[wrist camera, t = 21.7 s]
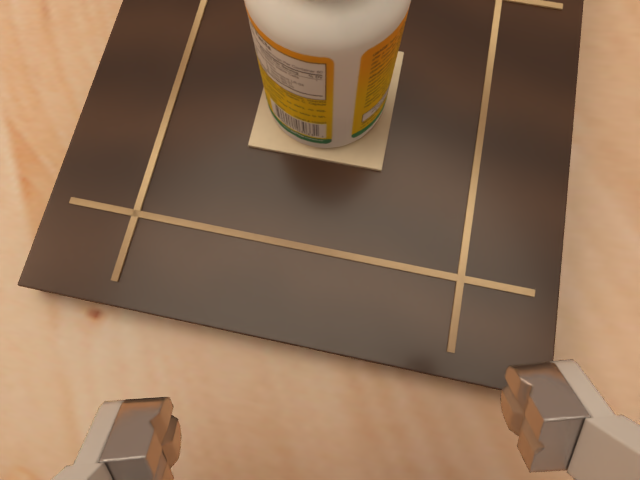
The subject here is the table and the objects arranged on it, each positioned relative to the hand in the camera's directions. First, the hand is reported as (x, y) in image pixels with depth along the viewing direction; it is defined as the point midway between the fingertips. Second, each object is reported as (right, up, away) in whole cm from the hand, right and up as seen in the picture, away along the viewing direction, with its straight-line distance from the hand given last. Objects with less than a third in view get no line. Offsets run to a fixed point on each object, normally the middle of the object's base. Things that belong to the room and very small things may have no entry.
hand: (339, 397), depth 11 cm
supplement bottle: (0, +10, +10) cm, 14 cm away
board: (0, +10, +11) cm, 15 cm away
